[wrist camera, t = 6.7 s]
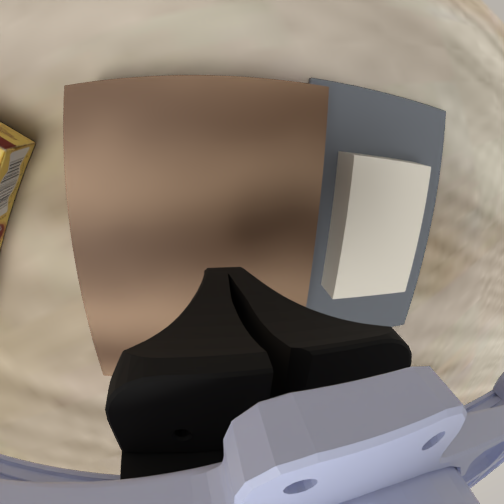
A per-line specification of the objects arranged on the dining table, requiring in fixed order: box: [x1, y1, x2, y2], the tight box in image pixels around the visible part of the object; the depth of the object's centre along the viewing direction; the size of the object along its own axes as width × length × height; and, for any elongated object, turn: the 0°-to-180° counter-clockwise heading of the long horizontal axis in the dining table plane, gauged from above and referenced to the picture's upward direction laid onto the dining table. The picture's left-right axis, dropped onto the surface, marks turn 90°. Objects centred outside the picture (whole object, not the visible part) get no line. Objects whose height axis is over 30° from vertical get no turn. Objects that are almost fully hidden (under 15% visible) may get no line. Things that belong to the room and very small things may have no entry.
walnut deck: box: [63, 75, 329, 376], centre depth 17 cm, size 16×12×4 cm
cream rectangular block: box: [321, 151, 431, 299], centre depth 19 cm, size 9×6×2 cm, turn 177°
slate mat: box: [306, 78, 446, 327], centre depth 21 cm, size 18×11×1 cm, turn 177°
